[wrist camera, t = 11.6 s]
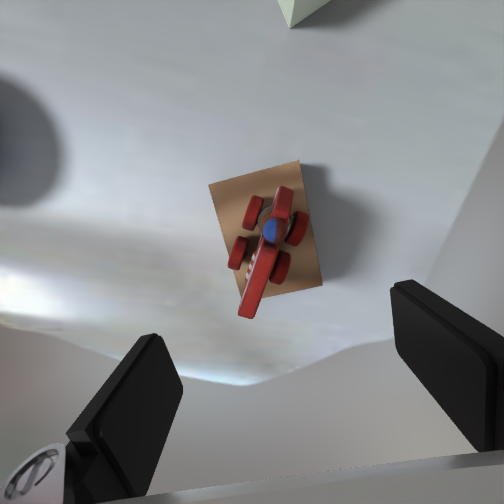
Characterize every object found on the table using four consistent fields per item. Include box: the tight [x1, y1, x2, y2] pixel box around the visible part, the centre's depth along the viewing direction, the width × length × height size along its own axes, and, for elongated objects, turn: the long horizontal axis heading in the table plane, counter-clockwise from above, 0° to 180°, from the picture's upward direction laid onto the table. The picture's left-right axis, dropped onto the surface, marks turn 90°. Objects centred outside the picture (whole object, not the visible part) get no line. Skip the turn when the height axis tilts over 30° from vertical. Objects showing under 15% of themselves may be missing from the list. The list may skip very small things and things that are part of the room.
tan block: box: [208, 160, 323, 299], centre depth 31 cm, size 16×11×4 cm
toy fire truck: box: [228, 186, 309, 319], centre depth 24 cm, size 7×12×10 cm, turn 160°
